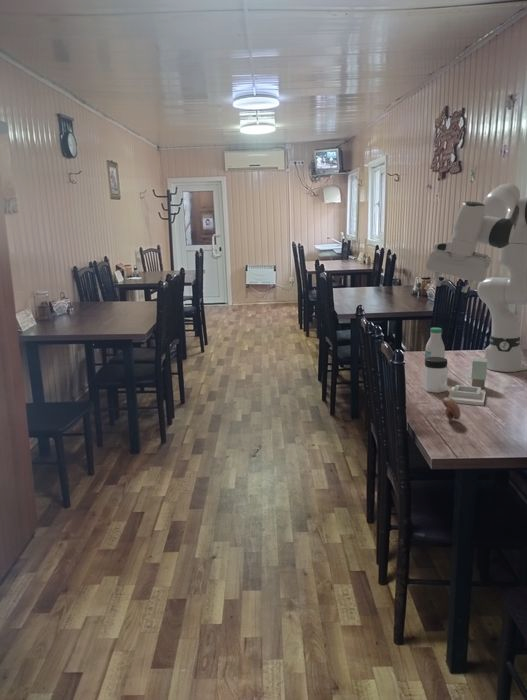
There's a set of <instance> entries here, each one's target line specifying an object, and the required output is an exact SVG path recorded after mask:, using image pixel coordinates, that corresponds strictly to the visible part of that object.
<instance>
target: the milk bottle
mask: <svg viewBox="0 0 527 700" xmlns="http://www.w3.org/2000/svg"><path fill="white" fill-rule="evenodd" d="M429 331H430V333H429V334H430V335H429V336H430V337H429V339H428V341H427V343H426V345H425V349H424V350H425V351H424V352H425V353H424V359H425V358H427V357H442V358H445V354H446V353H445V351H446V349H445V344H444V341H443V339H442V334H443V328H441V327H430V330H429Z"/></svg>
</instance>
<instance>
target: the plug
mask: <svg viewBox="0 0 527 700" xmlns="http://www.w3.org/2000/svg"><path fill="white" fill-rule="evenodd" d="M471 363H472V364H471V365H472V366H471V386H473V387H481V389H483V390H485V387H486V386H485V385H486V379H487V378H486V377H487V370H488V369H487V359H484V358H479V357H478V358H477V357H473V359H472V362H471Z"/></svg>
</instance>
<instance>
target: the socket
mask: <svg viewBox="0 0 527 700" xmlns="http://www.w3.org/2000/svg"><path fill="white" fill-rule="evenodd" d="M486 392H487V389H484V390H483V389H481V387H473V386H472V385H462V384H461V385H460V384H455V386H451V389H450V390H449V393H448V396H447V397H449V398H452V399H453V400H454V401H455V402H456V404H463V405H464V404H465V405H474V406H484V404H485V399H486V394H487V393H486Z"/></svg>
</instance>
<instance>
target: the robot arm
mask: <svg viewBox="0 0 527 700" xmlns="http://www.w3.org/2000/svg"><path fill="white" fill-rule="evenodd" d="M478 244H479V245H480V244H481V245H487V246H491V247H494V248H497V249H499V252H498V259H497V260H498V263H499V265H500V266H501V267H503V268H504V269H505V270H507V271H509V273H510V277H504V276H503V277H501V276H492V277H491V276H490V277H487V272H488V268H489V267H490V265H491V257H490V256H489V255H488V254H485V253H484V254H483V253H479V252H476V249H477V245H478ZM433 249H434V250H432V251H431V252H430V254H429V256H428V260H427V262H426V265H425V268H426V270H427V271H430V272H433V273H434V274H433V275H434V279H435V284H434V286H436V287H441V285H442V281H441V280H440V276H441V274H444V275H447V276H452V277H457V278H459V279H460V278H461V279H466V280H467V284H466V285H465V286H462V288H461V291H460V292H461V293H465V294H466V293H467V292H468V289H469V288H470V287H471V286H472V285H473V284H474V282H479V283H478V285H477V289H476V291H477V292H476V293H477V296H478V298H479V299H480V300H481V301H482V302H483V303H484V304H485V305H486V307H487V308H488V310H489V313H490V317H491V334H490V336H489V345H488V346H487V347H486V348H485V349H484V357H483V359H487V370H491V371H496V372H504V373H514V372H519V371H520V372H521V371H527V366H526V365H525V364H524V363H523V359H524V358H523V355H524V352H523V350H522V349H521V347H520V345H521V337H520V332H521V322H522V321H521V318H520V316H518V315H517V314H516V313H515V312H513V311H511V309H510V308H509V306H508V305H517V306H527V196H521V191H520V189H519V187H518V186H517V185H515V184H513V183H511V182H510V183H508V182H507V183H503V184H500V185H499V186H498V185H497V187H495V188H493V189H492V190H491V191H490V192H489V193H488V194H487V195H486V196H485V197H484V200H483V201H482V202H479V201H465V202H462V204H461V206H460V208H459V210H458V213H457V216H456V219H455V221H454V225H453V234H452V235H451V237H450V241H447V242H445V241H444V242H439V243H435V244H434V246H433Z"/></svg>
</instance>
